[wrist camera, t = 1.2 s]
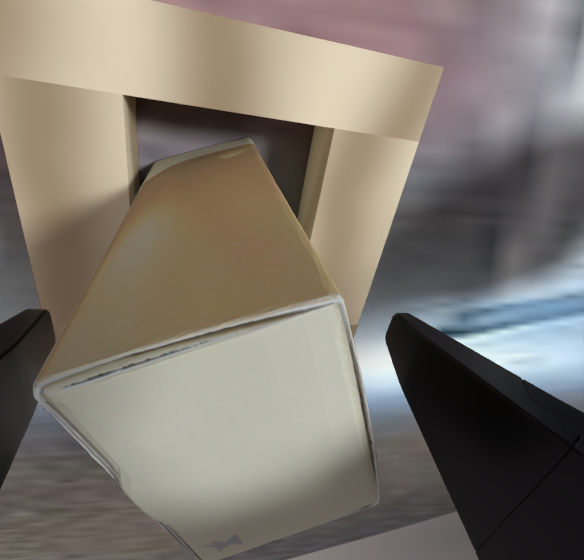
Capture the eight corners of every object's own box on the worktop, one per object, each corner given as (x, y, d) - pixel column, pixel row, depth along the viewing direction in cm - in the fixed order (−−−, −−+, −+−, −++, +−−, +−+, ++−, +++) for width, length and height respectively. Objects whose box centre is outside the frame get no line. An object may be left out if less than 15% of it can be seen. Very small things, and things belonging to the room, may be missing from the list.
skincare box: (284, 256, 18) (388, 513, 8) (202, 281, 18) (203, 578, 8) (249, 125, 14) (359, 292, 4) (145, 154, 14) (8, 402, 4)
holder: (409, 65, 14) (443, 67, 12) (332, 330, 22) (345, 360, 19) (5, -26, 11) (-41, -44, 9) (71, 332, 18) (55, 368, 16)
